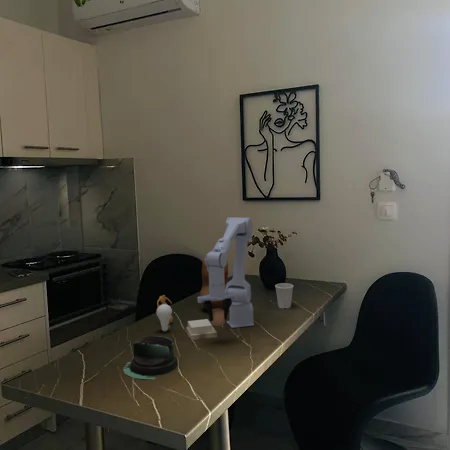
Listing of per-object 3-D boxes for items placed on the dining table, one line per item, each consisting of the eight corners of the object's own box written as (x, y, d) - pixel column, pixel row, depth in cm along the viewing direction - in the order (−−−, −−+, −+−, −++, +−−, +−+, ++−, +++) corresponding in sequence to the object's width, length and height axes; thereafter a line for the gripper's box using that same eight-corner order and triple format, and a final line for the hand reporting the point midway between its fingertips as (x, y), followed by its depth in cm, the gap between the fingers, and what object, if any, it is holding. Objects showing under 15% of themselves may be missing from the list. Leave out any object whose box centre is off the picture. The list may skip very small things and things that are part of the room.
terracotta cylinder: (222, 320, 178) (222, 307, 178) (226, 324, 174) (225, 311, 173) (210, 322, 177) (209, 309, 176) (213, 326, 172) (213, 312, 172)
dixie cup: (294, 309, 212) (294, 287, 211) (276, 309, 213) (275, 287, 211) (292, 303, 221) (292, 282, 219) (274, 304, 221) (274, 283, 220)
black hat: (190, 355, 164) (189, 330, 163) (175, 381, 144) (174, 352, 143) (135, 354, 167) (134, 328, 166) (114, 379, 147) (112, 350, 146)
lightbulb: (175, 329, 190) (174, 302, 189) (168, 334, 184) (167, 307, 183) (161, 328, 192) (160, 301, 191) (154, 333, 186) (153, 306, 185)
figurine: (165, 327, 193) (163, 298, 192) (154, 324, 197) (152, 296, 195) (178, 321, 200) (177, 293, 199) (167, 319, 204) (166, 291, 202)
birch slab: (210, 330, 190) (210, 324, 190) (217, 338, 181) (217, 332, 180) (186, 333, 188) (186, 327, 187) (191, 341, 178) (191, 335, 178)
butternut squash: (220, 315, 206) (218, 259, 203) (194, 311, 213) (192, 257, 209) (235, 307, 218) (234, 253, 215) (210, 303, 225) (209, 251, 221)
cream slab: (207, 325, 189) (207, 319, 189) (212, 331, 181) (212, 325, 181) (187, 327, 187) (187, 321, 187) (191, 334, 179) (191, 327, 179)
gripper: (200, 288, 168) (201, 325, 169) (239, 284, 171) (239, 320, 173) (195, 283, 174) (197, 319, 176) (233, 280, 178) (234, 314, 180)
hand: (218, 319), depth 175 cm, fingers closed on terracotta cylinder, 5 cm apart
